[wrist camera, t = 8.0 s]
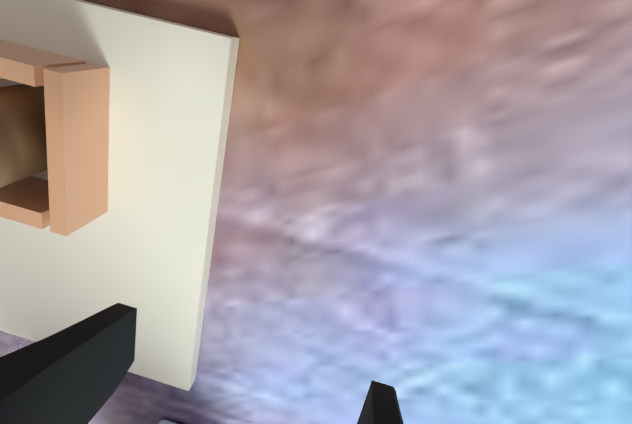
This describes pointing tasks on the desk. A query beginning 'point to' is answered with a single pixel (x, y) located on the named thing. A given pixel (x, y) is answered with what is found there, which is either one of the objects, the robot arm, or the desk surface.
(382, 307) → the desk surface
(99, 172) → the square wooden frame
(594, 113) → the desk surface
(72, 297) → the off-white board
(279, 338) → the desk surface
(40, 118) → the walnut peg
